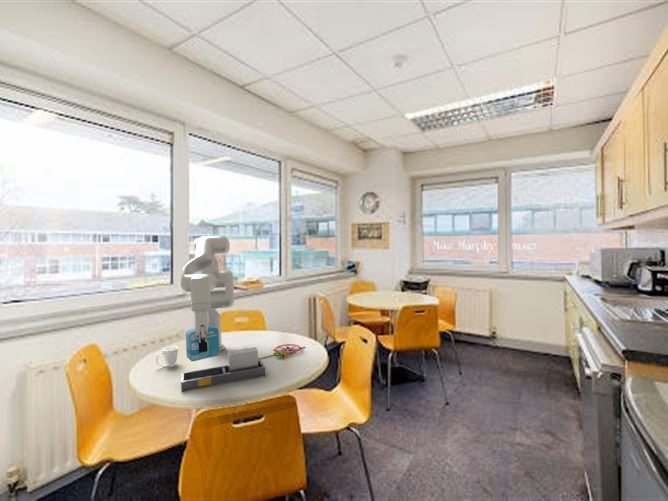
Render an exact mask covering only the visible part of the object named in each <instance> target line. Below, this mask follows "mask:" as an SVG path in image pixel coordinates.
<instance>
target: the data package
mask: <svg viewBox="0 0 668 501" xmlns="http://www.w3.org/2000/svg"><path fill="white" fill-rule="evenodd" d="M200 335H201V333H200ZM200 338H201V337H200ZM206 340H207V352H201V353H199V335H197V336H195V328H192V329H188V330H187V331H186V333H185V346H186V347H185V348H186V350H185V351H186V358H188V360H189V361H191V362H197V361H201V360H206V359H210V358H214V357H217V356H218V355H219V353H220V351H219V331H218V329H217V328H216V327H214V326H208V334H207V335H206Z"/></svg>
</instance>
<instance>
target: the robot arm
mask: <svg viewBox="0 0 668 501" xmlns="http://www.w3.org/2000/svg"><path fill="white" fill-rule="evenodd" d="M193 245H194V250H195V256H194V258H192V259H191V260H190V261H188V262H187V263H186V264H185V266H184V267H183V268H182V271H181V278H180V288H181V290H182V291H184V292H185V293H190V307H191V312H193V322H194V324H193V325H194V328H193V329H195V336H197V335H199V353H201V352H207V340H206V335H207V334H208V326H214V327H216V328H217V329H218V331H219V352H222V351H223V350H224V349H225V347H226V345H225V344H223V343H222V320H221V319H222V318H221V314H220V313H219V312H218V310H217V309H225V308H231V307H233V306H234V303H235V292H234V289H235V288H234V277H233V276H234V274H233V272H232V271H231V270H230V269H219V262H218V261H219V260H218V258H217V257H216V255H221V254H222V255H223V254H228V253H229V251H230V249H231V245H230V239H228V237H227V236H226V235H203V236H200V237H199V238H196V239H195V240H194V242H193ZM200 271H201V272H200ZM197 272H200V273H197ZM195 273H196V274H195ZM221 288H222V289H221ZM215 289H216V290H215ZM217 289H218V290H217ZM219 289H220V290H219ZM200 333H201V335H200ZM200 337H201V338H200Z"/></svg>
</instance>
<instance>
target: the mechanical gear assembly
mask: <svg viewBox="0 0 668 501" xmlns="http://www.w3.org/2000/svg"><path fill="white" fill-rule="evenodd" d="M305 348H307V347H306V346H302V347H301V346H300V345H299V344H295V343H287V344H286V343H285V344H281V345H278V346H276V347H275V348H273V349H272V351H273V354H270V355H266V356H263V357H258V360H262V359H267V358H271V357H274V356H275V357H284V358H285V359H289V356H290V355H287V354H292V353H296V352H297V353H298V352H299V351H300V350H302V349H305Z"/></svg>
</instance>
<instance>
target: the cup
mask: <svg viewBox="0 0 668 501" xmlns="http://www.w3.org/2000/svg"><path fill="white" fill-rule="evenodd" d="M178 352H179V346H176V345H172V346H170V345H169V346H166V347H164V348H162V352H159V353H158V354H157V355H156V358H155V362H156V364H157V365H159V366H161V367H164V368H167V367H168V368H171V367H175V366H176V365H177V360H178V354H179V353H178ZM160 355H163V358H164V362H165V364H166V365H162V364H160V363H158V359H159V356H160Z"/></svg>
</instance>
